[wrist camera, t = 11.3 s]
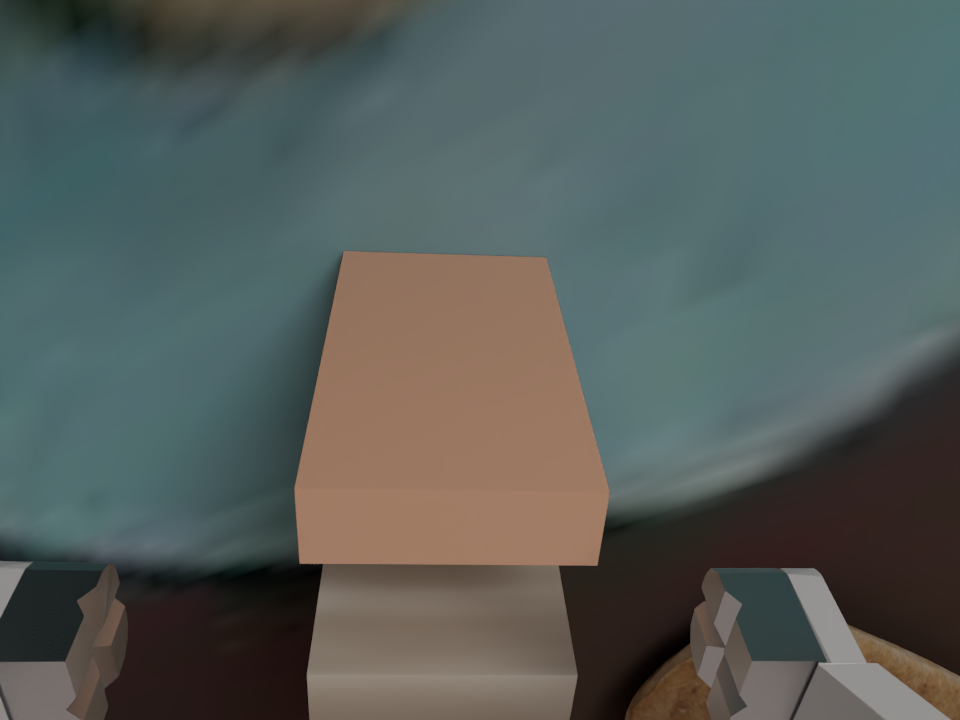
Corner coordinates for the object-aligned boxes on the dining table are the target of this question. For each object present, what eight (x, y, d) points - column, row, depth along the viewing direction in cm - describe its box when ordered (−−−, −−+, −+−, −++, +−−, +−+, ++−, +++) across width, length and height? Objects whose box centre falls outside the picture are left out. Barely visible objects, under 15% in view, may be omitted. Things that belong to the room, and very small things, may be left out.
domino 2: (347, 400, 23) (306, 674, 16) (530, 404, 24) (577, 675, 16) (348, 447, 24) (310, 730, 17) (525, 451, 25) (567, 729, 17)
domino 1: (343, 251, 21) (294, 488, 14) (546, 257, 22) (610, 492, 14) (345, 308, 22) (299, 563, 14) (540, 313, 22) (597, 565, 15)
